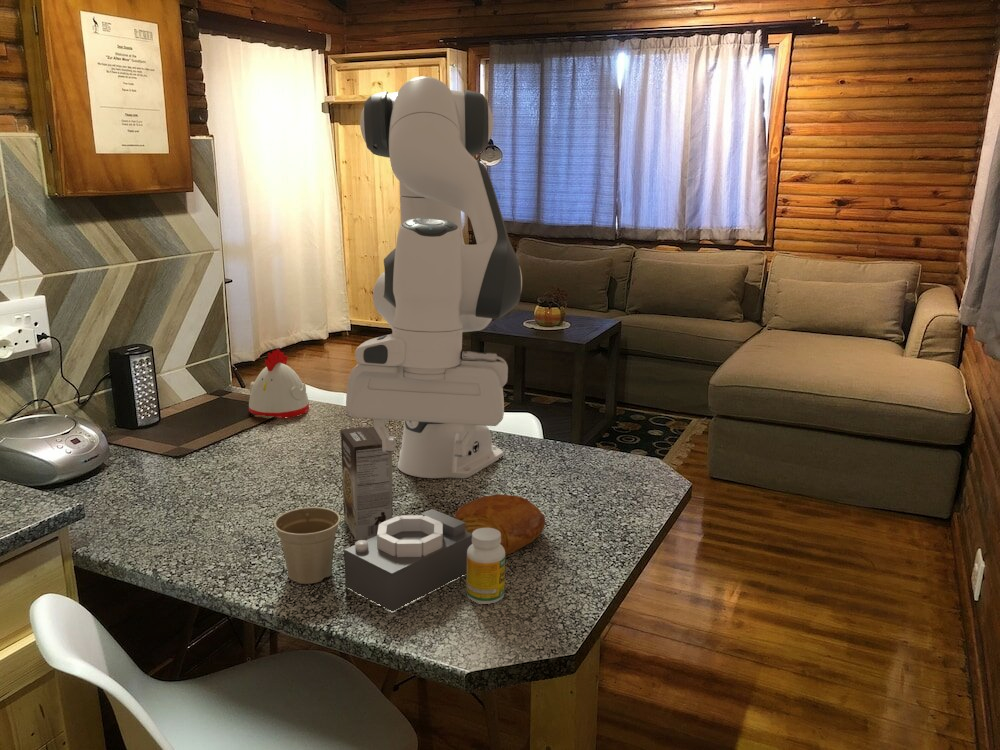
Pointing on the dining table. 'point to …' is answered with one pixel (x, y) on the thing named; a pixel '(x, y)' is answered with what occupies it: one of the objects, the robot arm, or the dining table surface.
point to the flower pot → (308, 542)
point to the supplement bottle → (485, 566)
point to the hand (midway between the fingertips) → (424, 453)
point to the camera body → (408, 558)
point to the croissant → (504, 519)
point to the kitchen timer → (278, 390)
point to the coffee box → (365, 481)
